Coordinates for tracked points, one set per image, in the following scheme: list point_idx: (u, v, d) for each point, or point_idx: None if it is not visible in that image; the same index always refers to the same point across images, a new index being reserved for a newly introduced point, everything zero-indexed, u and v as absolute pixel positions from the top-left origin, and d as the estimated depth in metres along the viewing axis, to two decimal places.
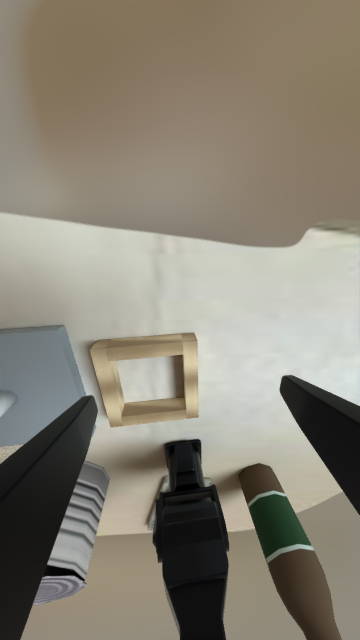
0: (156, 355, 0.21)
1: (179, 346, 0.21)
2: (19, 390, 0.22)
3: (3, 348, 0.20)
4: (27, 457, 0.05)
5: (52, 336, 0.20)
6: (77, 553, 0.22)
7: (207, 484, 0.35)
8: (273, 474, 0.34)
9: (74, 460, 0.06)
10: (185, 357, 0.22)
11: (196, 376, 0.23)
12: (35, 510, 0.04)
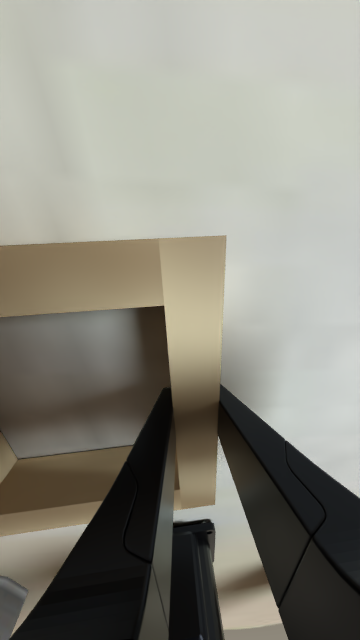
0: (42, 308, 0.05)
1: (143, 263, 0.05)
2: None
3: None
4: (154, 441, 0.05)
5: None
6: None
7: None
8: None
9: (174, 448, 0.06)
10: (173, 319, 0.05)
11: (214, 394, 0.06)
12: (169, 491, 0.05)
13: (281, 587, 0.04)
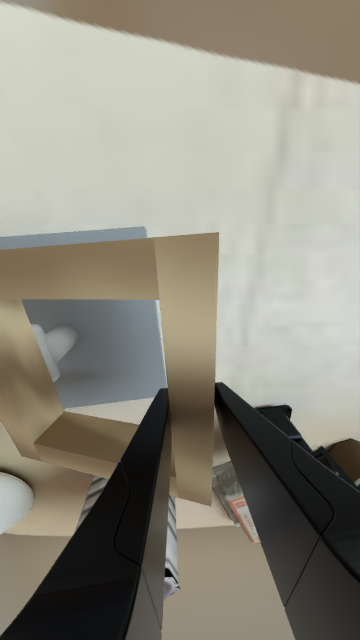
0: (69, 294, 0.06)
1: (141, 260, 0.05)
2: (83, 324, 0.16)
3: None
4: (149, 442, 0.05)
5: (136, 237, 0.14)
6: (167, 546, 0.16)
7: None
8: None
9: (169, 448, 0.06)
10: (167, 313, 0.06)
11: (209, 394, 0.06)
12: (163, 492, 0.05)
13: (287, 586, 0.04)
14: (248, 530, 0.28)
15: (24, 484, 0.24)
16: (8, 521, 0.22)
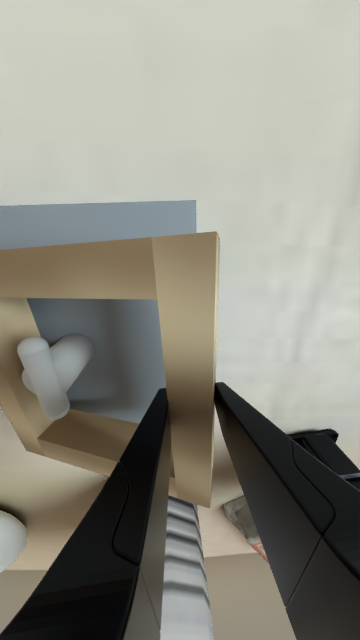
0: (69, 293, 0.06)
1: (139, 260, 0.05)
2: (101, 334, 0.12)
3: (86, 238, 0.10)
4: (148, 442, 0.05)
5: (183, 215, 0.10)
6: (206, 630, 0.12)
7: None
8: None
9: (169, 448, 0.06)
10: (165, 313, 0.05)
11: (207, 395, 0.06)
12: (162, 492, 0.05)
13: (288, 586, 0.04)
14: None
15: (16, 522, 0.20)
16: None
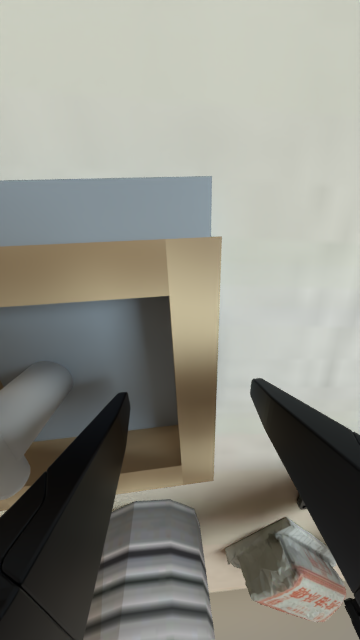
0: (66, 297, 0.06)
1: (152, 260, 0.05)
2: (81, 361, 0.09)
3: (53, 232, 0.07)
4: (83, 450, 0.05)
5: (193, 199, 0.07)
6: None
7: (290, 529, 0.20)
8: None
9: (118, 455, 0.06)
10: (176, 308, 0.06)
11: (212, 375, 0.07)
12: (94, 502, 0.05)
13: None
14: (300, 616, 0.21)
15: None
16: None
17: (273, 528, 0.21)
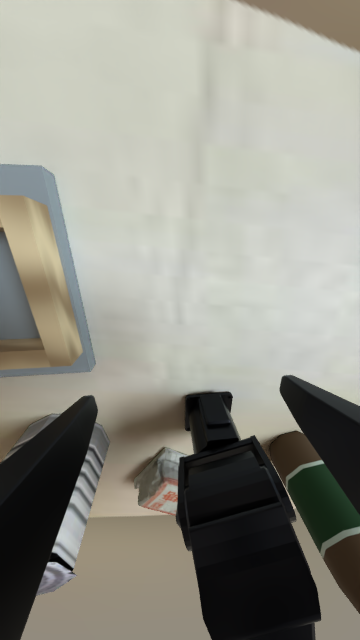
0: None
1: None
2: None
3: None
4: (27, 457, 0.05)
5: (33, 178, 0.12)
6: (63, 530, 0.15)
7: (168, 455, 0.26)
8: None
9: (74, 460, 0.06)
10: (9, 235, 0.11)
11: (44, 281, 0.13)
12: (35, 510, 0.04)
13: None
14: None
15: None
16: None
17: (157, 456, 0.27)
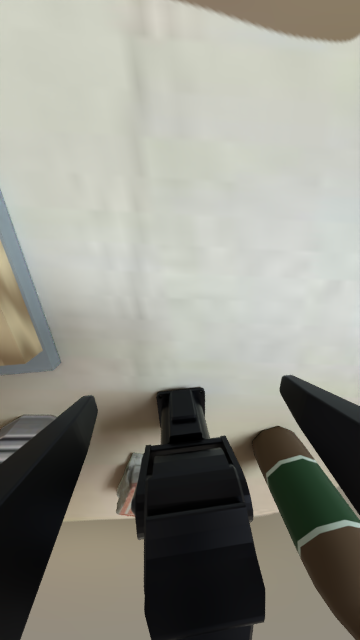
0: None
1: None
2: None
3: None
4: (27, 457, 0.05)
5: None
6: None
7: (137, 460, 0.26)
8: (297, 438, 0.26)
9: (74, 460, 0.06)
10: None
11: None
12: (35, 510, 0.04)
13: None
14: None
15: None
16: None
17: (128, 463, 0.27)
